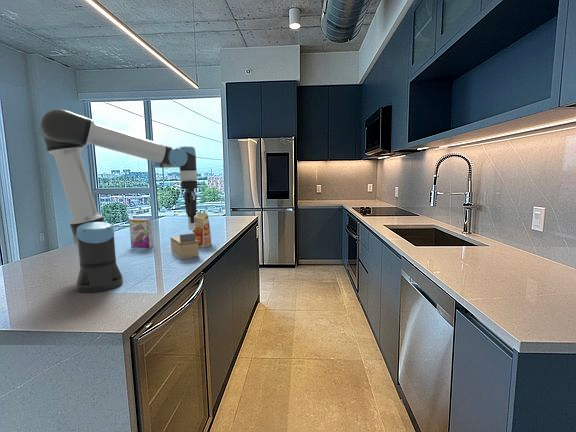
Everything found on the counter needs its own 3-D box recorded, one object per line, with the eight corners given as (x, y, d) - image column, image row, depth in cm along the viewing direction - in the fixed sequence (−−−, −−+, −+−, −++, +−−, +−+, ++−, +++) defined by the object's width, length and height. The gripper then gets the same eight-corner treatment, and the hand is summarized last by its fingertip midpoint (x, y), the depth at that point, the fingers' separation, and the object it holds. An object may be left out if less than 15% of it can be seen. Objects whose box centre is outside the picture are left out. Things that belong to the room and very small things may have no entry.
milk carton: (191, 246, 187) (189, 212, 184) (200, 243, 195) (198, 210, 193) (205, 247, 184) (203, 212, 182) (213, 244, 193) (212, 210, 190)
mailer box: (180, 259, 158) (179, 245, 158) (171, 252, 173) (170, 239, 172) (198, 256, 163) (198, 242, 162) (188, 249, 178) (187, 237, 177)
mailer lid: (179, 244, 158) (179, 235, 157) (170, 238, 172) (170, 230, 172) (198, 242, 162) (197, 233, 162) (187, 236, 177) (187, 228, 177)
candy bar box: (130, 248, 185) (128, 219, 183) (135, 246, 190) (133, 218, 188) (149, 248, 184) (147, 219, 182) (153, 246, 189) (152, 218, 186)
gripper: (201, 180, 149) (204, 230, 152) (192, 179, 159) (195, 227, 162) (184, 180, 144) (188, 232, 148) (177, 180, 155) (180, 228, 158)
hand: (192, 229), depth 155 cm, fingers closed
